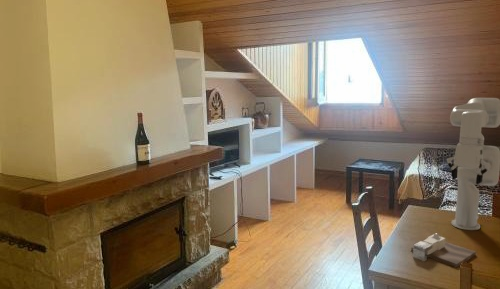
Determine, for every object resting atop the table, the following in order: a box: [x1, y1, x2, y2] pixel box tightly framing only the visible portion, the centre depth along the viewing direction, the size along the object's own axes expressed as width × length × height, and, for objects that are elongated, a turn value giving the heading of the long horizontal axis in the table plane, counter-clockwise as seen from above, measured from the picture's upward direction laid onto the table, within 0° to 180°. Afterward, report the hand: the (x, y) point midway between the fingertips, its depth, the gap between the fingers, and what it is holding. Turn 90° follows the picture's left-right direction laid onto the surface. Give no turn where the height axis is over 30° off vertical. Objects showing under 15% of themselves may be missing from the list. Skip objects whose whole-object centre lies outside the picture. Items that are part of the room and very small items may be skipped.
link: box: [423, 233, 446, 255], centre depth 163 cm, size 13×5×4 cm, turn 127°
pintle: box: [434, 233, 440, 240], centre depth 165 cm, size 2×2×6 cm
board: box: [410, 241, 477, 268], centre depth 163 cm, size 17×19×2 cm
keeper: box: [412, 240, 433, 262], centre depth 159 cm, size 6×5×6 cm
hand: (466, 181), depth 162 cm, fingers open, 9 cm apart
